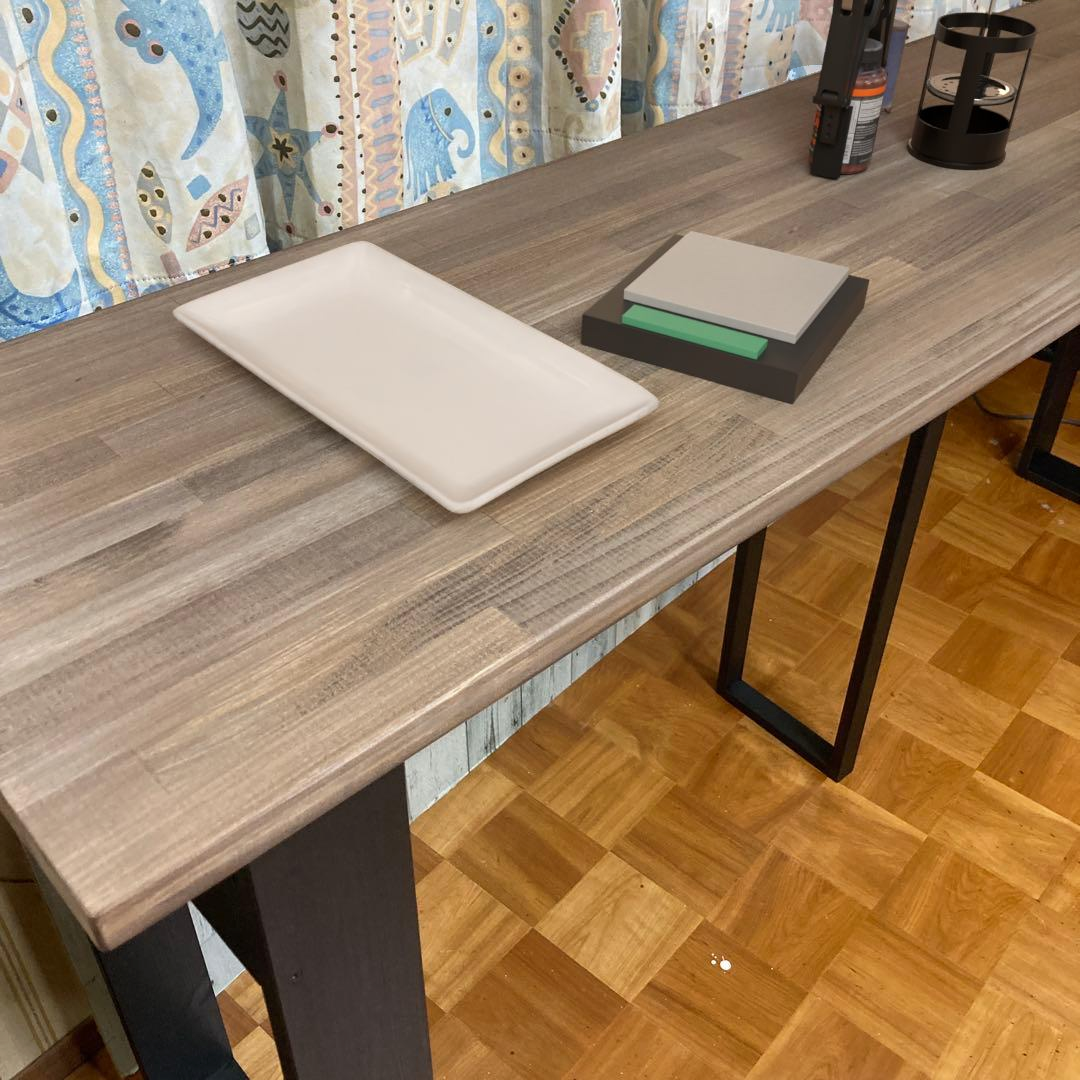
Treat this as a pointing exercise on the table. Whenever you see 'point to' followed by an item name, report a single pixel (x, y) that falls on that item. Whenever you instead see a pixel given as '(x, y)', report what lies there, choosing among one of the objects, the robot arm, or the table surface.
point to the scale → (729, 314)
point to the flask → (894, 62)
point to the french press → (970, 93)
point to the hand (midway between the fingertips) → (837, 162)
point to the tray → (418, 371)
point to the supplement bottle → (861, 111)
